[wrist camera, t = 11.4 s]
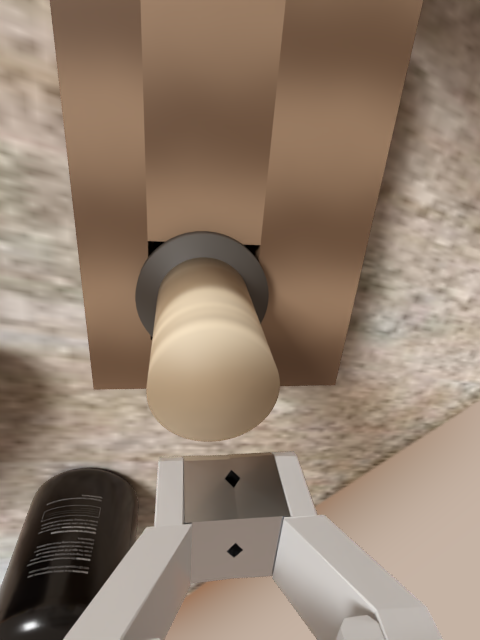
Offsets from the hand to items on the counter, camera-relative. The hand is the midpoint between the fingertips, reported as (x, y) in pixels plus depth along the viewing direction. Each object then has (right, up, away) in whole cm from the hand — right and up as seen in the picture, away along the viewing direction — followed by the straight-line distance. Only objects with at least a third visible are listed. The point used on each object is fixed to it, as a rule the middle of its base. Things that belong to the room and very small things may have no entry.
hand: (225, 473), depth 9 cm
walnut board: (0, +9, +10) cm, 14 cm away
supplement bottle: (-10, -9, +18) cm, 23 cm away
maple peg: (-2, +6, +11) cm, 13 cm away
